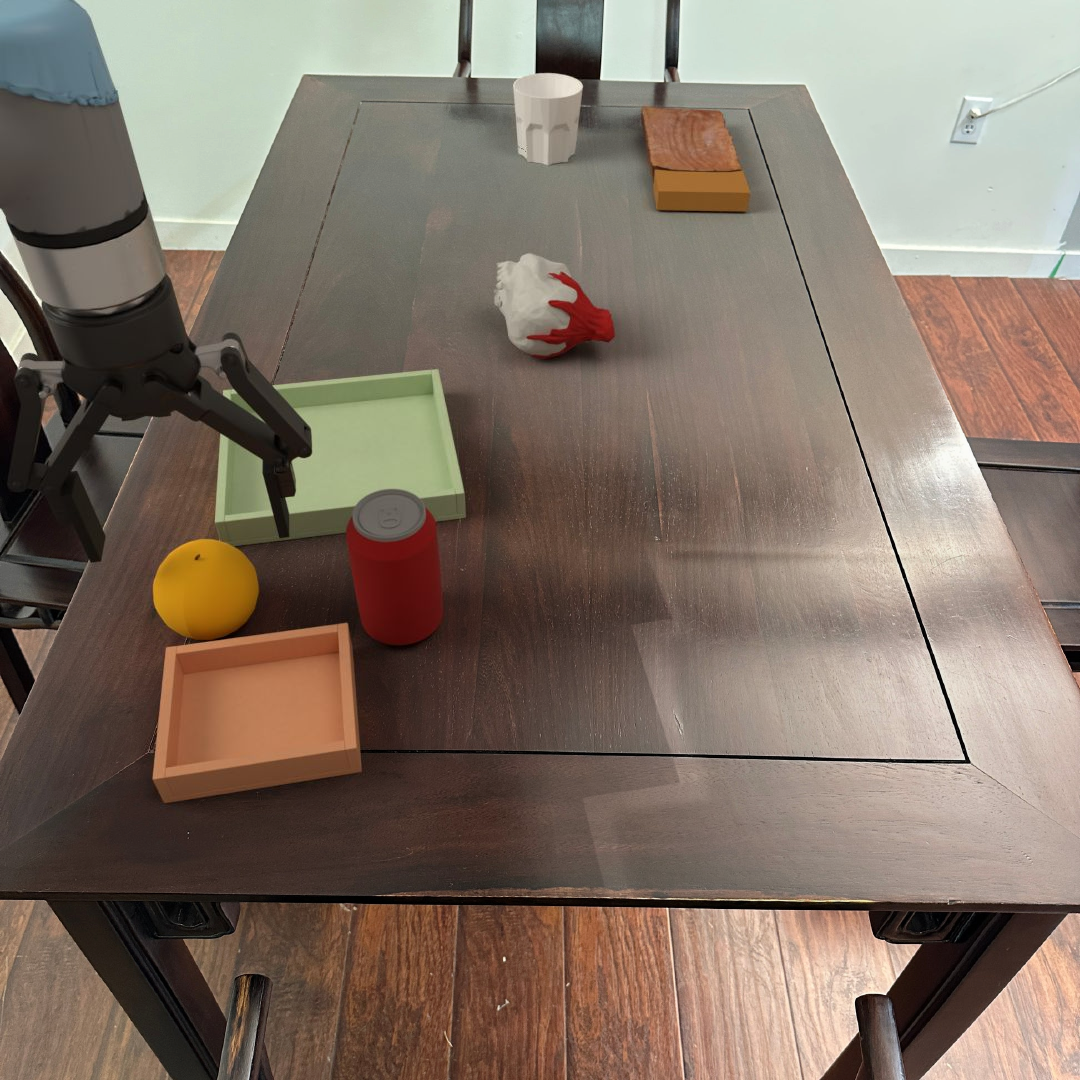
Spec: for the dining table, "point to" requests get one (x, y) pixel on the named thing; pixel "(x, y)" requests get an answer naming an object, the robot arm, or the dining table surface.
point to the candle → (547, 308)
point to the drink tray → (257, 713)
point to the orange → (205, 589)
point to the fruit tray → (346, 457)
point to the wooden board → (693, 161)
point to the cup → (547, 116)
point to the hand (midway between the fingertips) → (192, 537)
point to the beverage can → (395, 566)
